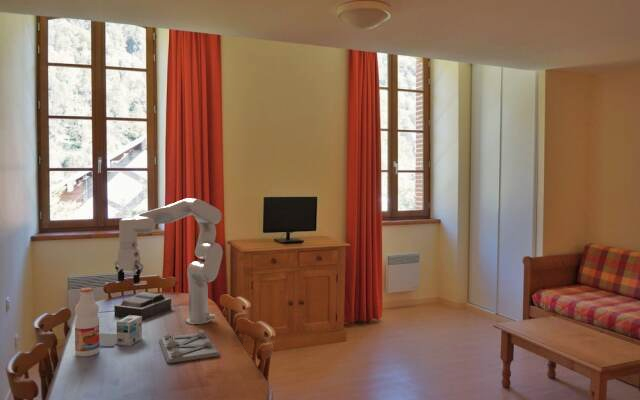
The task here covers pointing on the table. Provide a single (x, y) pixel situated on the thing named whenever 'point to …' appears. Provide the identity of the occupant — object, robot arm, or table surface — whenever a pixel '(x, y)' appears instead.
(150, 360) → the table surface
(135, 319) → the light bulb box
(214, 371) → the table surface
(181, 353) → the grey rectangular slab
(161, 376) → the table surface
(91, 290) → the fruit juice
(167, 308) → the dark grey open box
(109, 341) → the mat
